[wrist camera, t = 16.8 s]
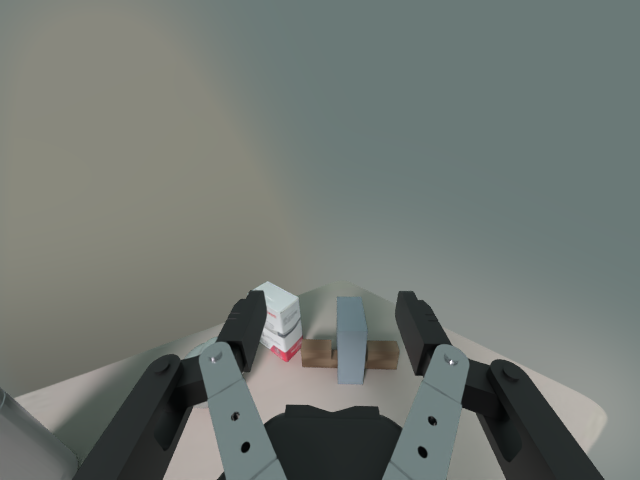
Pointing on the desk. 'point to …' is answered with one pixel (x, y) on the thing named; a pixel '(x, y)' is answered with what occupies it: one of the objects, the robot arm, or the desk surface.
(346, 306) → the notched block
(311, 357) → the notched rail
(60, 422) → the desk surface
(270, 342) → the ink box
